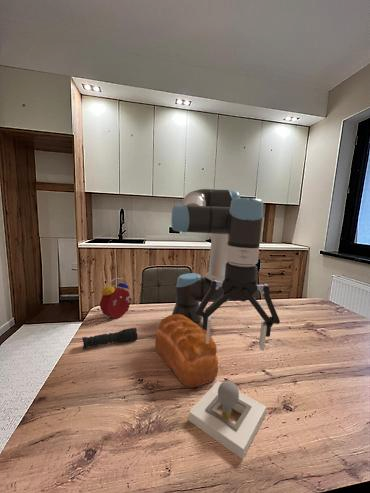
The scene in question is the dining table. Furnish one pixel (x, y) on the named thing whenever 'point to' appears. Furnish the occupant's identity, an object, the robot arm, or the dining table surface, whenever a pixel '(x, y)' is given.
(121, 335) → the flashlight
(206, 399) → the socket block
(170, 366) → the bread
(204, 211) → the robot arm
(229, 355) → the dining table surface
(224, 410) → the light bulb
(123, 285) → the alarm clock
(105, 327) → the dining table surface
